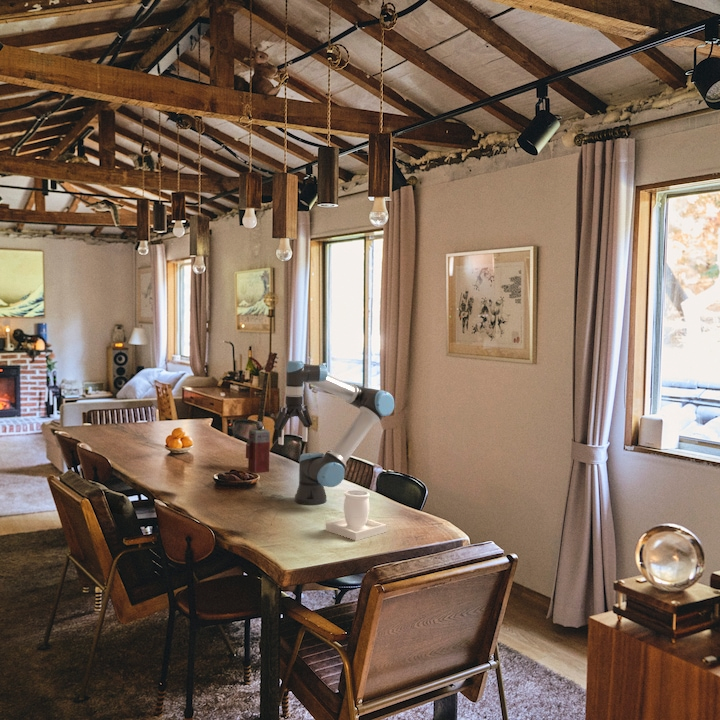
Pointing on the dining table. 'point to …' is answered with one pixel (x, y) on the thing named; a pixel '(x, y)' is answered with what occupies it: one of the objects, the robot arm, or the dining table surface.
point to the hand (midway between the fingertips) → (293, 442)
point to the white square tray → (370, 530)
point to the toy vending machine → (258, 449)
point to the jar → (356, 509)
